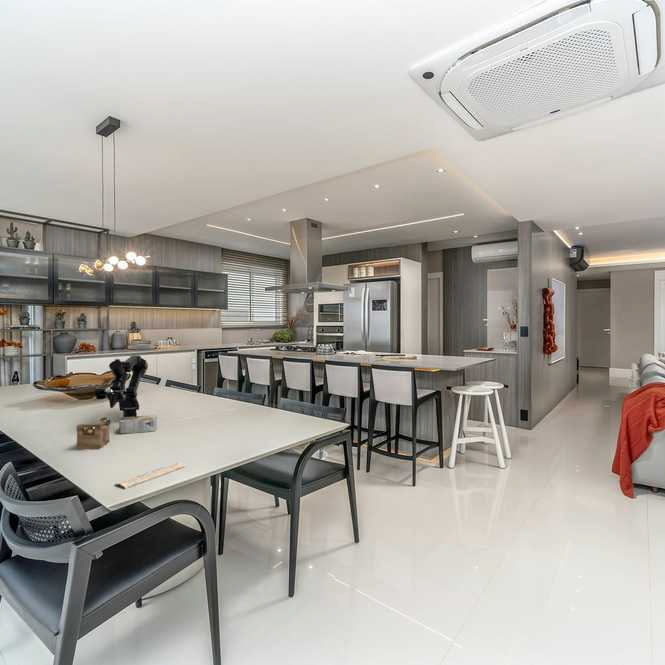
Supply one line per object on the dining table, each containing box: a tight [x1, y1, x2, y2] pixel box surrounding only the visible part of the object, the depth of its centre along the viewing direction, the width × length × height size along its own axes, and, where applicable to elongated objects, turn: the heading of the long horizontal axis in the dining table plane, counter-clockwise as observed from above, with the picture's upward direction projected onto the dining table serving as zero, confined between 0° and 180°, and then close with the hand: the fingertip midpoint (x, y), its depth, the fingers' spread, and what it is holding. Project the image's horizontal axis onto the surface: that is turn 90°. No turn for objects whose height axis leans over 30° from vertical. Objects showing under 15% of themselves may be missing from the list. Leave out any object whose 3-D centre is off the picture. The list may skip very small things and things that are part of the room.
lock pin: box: [86, 416, 112, 435], centre depth 181 cm, size 17×4×4 cm, turn 9°
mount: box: [76, 423, 110, 451], centre depth 177 cm, size 10×9×10 cm
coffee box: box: [118, 414, 158, 435], centre depth 202 cm, size 9×6×16 cm
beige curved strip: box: [114, 461, 187, 490], centre depth 142 cm, size 24×7×2 cm, turn 149°
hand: (111, 407), depth 196 cm, fingers closed
